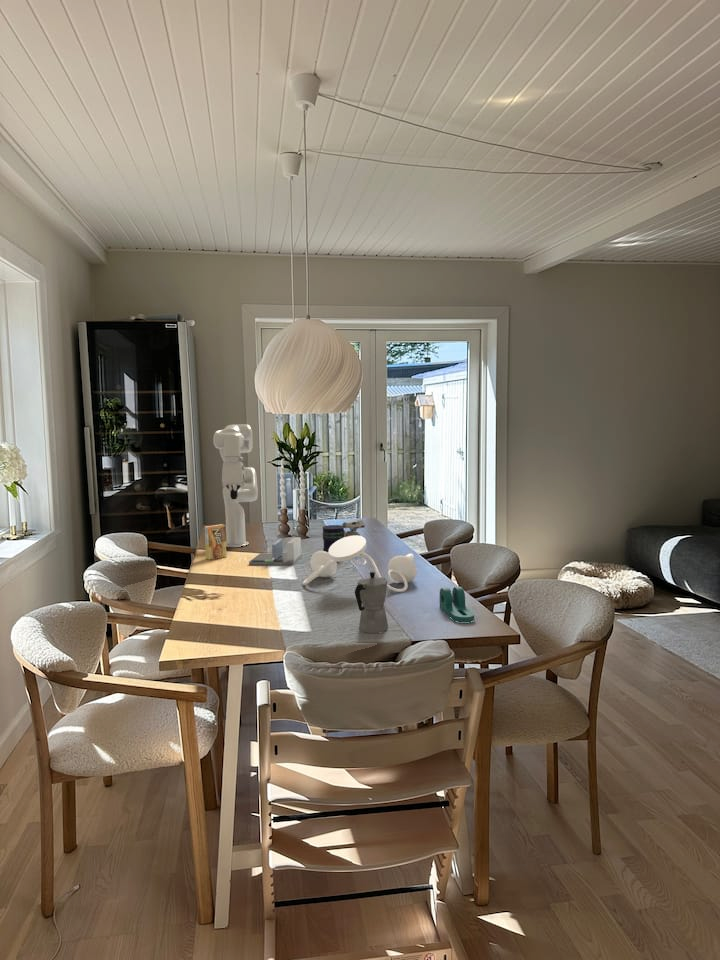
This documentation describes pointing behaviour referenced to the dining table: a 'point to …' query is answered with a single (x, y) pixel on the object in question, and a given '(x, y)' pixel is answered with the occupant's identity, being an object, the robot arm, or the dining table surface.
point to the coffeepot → (372, 604)
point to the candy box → (215, 541)
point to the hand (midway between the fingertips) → (234, 498)
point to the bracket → (455, 604)
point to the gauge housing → (285, 558)
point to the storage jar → (332, 535)
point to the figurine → (353, 527)
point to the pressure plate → (277, 549)
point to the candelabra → (351, 548)
